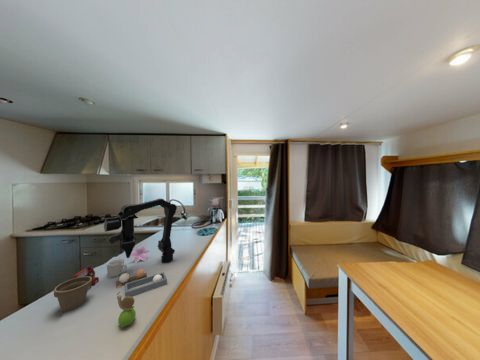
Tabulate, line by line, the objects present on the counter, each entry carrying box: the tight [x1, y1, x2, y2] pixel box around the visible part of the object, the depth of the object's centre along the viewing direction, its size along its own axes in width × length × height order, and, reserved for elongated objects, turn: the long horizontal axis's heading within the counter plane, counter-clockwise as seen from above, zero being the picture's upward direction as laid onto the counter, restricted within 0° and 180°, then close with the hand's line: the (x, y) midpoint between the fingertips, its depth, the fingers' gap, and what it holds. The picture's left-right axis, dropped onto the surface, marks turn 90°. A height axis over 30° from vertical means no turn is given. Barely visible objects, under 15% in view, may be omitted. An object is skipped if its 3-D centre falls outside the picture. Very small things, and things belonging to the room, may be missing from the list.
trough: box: [124, 272, 168, 298], centre depth 81 cm, size 18×8×4 cm, turn 127°
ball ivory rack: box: [118, 272, 130, 283], centre depth 85 cm, size 4×4×4 cm
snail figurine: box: [116, 291, 137, 328], centre depth 61 cm, size 5×6×12 cm
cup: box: [106, 258, 128, 278], centre depth 93 cm, size 11×8×8 cm
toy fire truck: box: [72, 265, 100, 291], centre depth 81 cm, size 7×12×10 cm, turn 9°
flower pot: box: [53, 276, 92, 313], centre depth 69 cm, size 12×11×10 cm
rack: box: [115, 272, 148, 289], centre depth 87 cm, size 14×7×2 cm, turn 127°
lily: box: [129, 243, 151, 264], centre depth 112 cm, size 12×12×10 cm
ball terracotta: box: [134, 268, 146, 278], centre depth 89 cm, size 4×4×4 cm
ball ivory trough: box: [152, 273, 163, 283], centre depth 84 cm, size 4×4×4 cm
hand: (128, 254), depth 91 cm, fingers open, 9 cm apart
